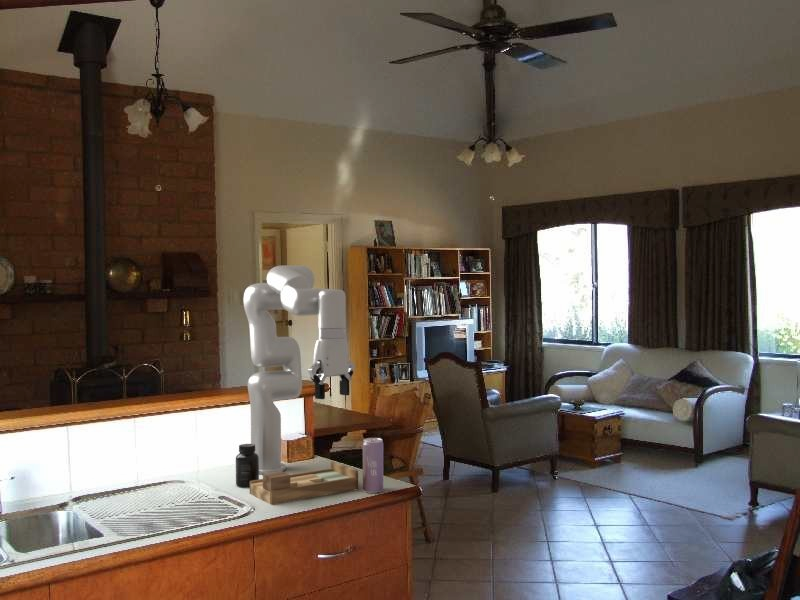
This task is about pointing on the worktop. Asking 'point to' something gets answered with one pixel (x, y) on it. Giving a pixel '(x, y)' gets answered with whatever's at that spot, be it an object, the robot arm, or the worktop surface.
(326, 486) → the trap trough
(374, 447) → the beverage can
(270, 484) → the walnut block
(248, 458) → the supplement bottle
